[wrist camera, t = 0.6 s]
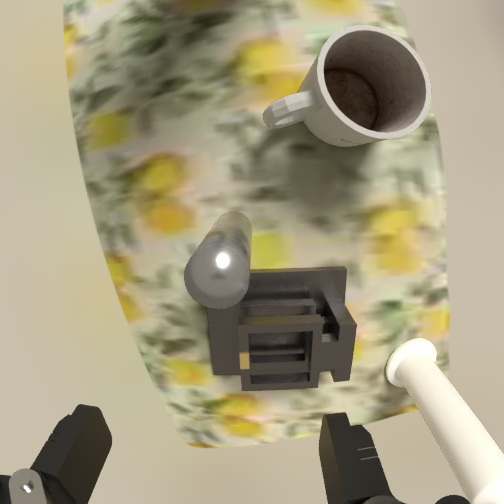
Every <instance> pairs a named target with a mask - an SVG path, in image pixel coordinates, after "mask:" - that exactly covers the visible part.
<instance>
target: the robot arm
mask: <svg viewBox="0 0 504 504" xmlns="http://www.w3.org/2000/svg"><path fill="white" fill-rule="evenodd" d="M111 446H112V436H111V433H110V430H109V428H108V426H107V424H106V422H105V419H104V417H103V415H102V412H101V410H100V409H99V408H98V407H94V406H88V405H83V404H80V405H78V406H77V407H76V409H75V411H74V412H73V414H72V415H67V416H66V417H64V418H63V419H62V420H61V421H59V422H58V424H57V425H56V427H55V429H54V430H53V433H52V434H51V435H50V437H49V438H48V441H46V443H45V445H44V446H43V448H42V450H41V451H40V453H39V455H38V456H37V458H36V460H35V462H34V463H33V465H32V466H31V468H30V469H21V470H18V471H16V472H15V473H14V474H13V475H12V476H7V475H0V504H88V501H89V499H90V497H91V494H92V492H93V489H94V487H95V484H96V482H97V480H98V477H99V475H100V472H101V470H102V468H103V465H104V463H105V461H106V458H107V456H108V454H109V451H110V449H111ZM319 455H320V461H321V467H322V472H323V478H324V483H325V489H326V495H327V500H328V504H405V503H402V502H400V501H399V500H397V499H396V498H395V497H394V496H393V495H392V493H391V491H390V489H389V486H388V483H387V480H386V477H385V474H384V472H383V468H382V466H381V462H380V459H379V458H378V454H377V452H376V448H375V445H374V443H373V440H372V437H371V434H370V433H369V432H368V431H367V430H366V429H365V428H364V427H363V426H362V425H354V426H350V423H349V420H348V417H347V414H346V413H345V412H343V413H334V414H325V415H323V420H322V426H321V433H320V440H319ZM435 504H470V502H469V501H468V500H467V499H465V498H464V497H462V496H458V495H449V496H445V497H443V498H441V499H440V500H438V501H437V502H436V503H435Z"/></svg>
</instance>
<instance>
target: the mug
mask: <svg viewBox="0 0 504 504" xmlns="http://www.w3.org/2000/svg"><path fill="white" fill-rule="evenodd" d="M430 102H431V86H430V80H429V77H428V74H427V70H426V68H425V66H424V64H423V62H422V60H421V59H420V57H419V56H418V55H417V53H416V52H415V51H414V49H413V48H412V47H411V46H410V45H409V44H408V43H407V42H405V41H404V40H403V39H401V38H400V37H399V36H397V35H395V34H393V33H392V32H390V31H388V30H385V29H382V28H379V27H375V26H368V25H356V26H351V27H347V28H344V29H342V30H340V31H338V32H336V33H335V34H334V35H333V36H331V37H330V38H329V39H328V40H327V42H326V43H325V44H324V46H323V47H322V49H321V51H320V52H319V54H318V56H317V58H316V59H315V61H314V63H313V65H312V66H311V68H310V70H309V72H308V74H307V75H306V77H305V79H304V81H303V82H302V84H301V87H300V90H299V93H295V94H292V95H288V96H285V97H283V98H281V99H279V100H277V101H275V102H274V103H272V104H271V105H270V106H268V107H267V109H266V110H265V111H264V113H263V120H264V123H265V124H266V126H267V127H270V128H280V127H285V126H289V125H292V124H295V123H298V122H301V121H303V122H304V124H305V125H306V126H307V128H308V129H309V130H310V131H311V132H312V133H313V134H314V135H315V136H316V137H317V138H319V139H320V140H322V141H324V142H326V143H328V144H331V145H334V146H339V147H351V146H356V145H361V144H366V143H371V142H377V141H382V140H387V139H393V138H399V137H401V136H404V135H406V134H409V133H410V132H412V131H413V130H415V129H416V128H417V127H418V126H419V125H420V124H421V122H422V121H423V120H424V118H425V116H426V114H427V112H428V109H429V106H430Z"/></svg>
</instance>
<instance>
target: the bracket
mask: <svg viewBox="0 0 504 504" xmlns="http://www.w3.org/2000/svg"><path fill="white" fill-rule="evenodd" d="M346 274H347V269H346V268H345V267H318V268H290V269H258V270H250V278H249V287H248V290H247V292H246V294H245V295H244V297H243V298H242V299H241V300H240V301H239V302H238V303H236V304H235V305H233V306H231V307H228V308H224V309H213V308H208V307H207V316H208V326H209V336H210V345H211V354H212V363H213V372H214V375H241V383H242V391H265V390H289V389H305V388H318V380H319V371H330V372H331V375H332V378H333V381H334V382H340V381H349V380H350V373H351V366H352V359H353V352H354V344H355V336H356V327H357V324H356V323H355V321H354V319H353V318H352V316H351V314H350V313H349V311H348V310H347V308H346V306H345V305H344V304H345V290H346ZM304 372H305V373H304ZM287 373H288V374H287ZM260 374H263V375H260Z"/></svg>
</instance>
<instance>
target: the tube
mask: <svg viewBox="0 0 504 504" xmlns="http://www.w3.org/2000/svg"><path fill="white" fill-rule="evenodd" d="M251 241H252V226H251V223H250V221H249V220H248V218H247V217H246V216H244V215H243V214H241V213H238V212H228V213H225V214H223V215H222V216H221V217H220V218H219V219H218V220H217V222H216V223H215V224H214V226H213V227H212V229H211V230H210V231H209V233H208V234H207V236H206V237H205V238H204V240H203V241H202V243H201V244H200V245H199V247H198V248H197V250H196V251H195V253H194V254H193V255H192V257H191V258H190V260H189V261H188V263H187V265H186V268H185V272H184V281H185V285H186V288H187V290H188V292H189V294H190V295H191V296H192V298H193V299H194V300H195V301H197V302H198V303H200V304H201V305H203V306H205V307H208V308H213V309H224V308H228V307H231V306H233V305H235V304H236V303H238V302H239V301H240V300H241V299H242V298H243V297H244V295H245V294H246V292H247V290H248V287H249V278H250V259H251Z"/></svg>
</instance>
